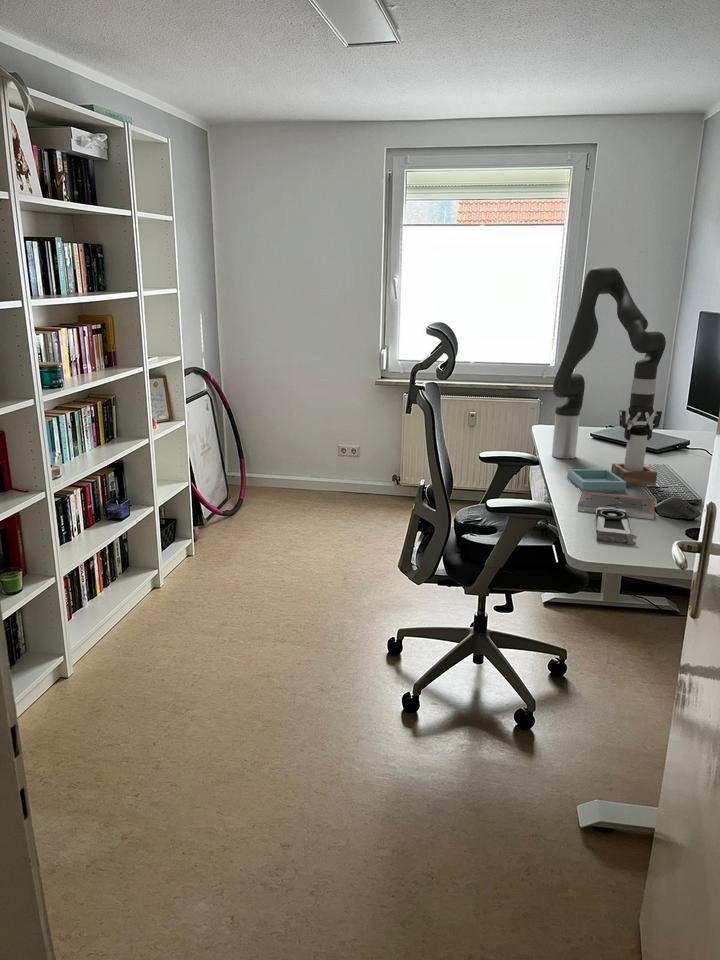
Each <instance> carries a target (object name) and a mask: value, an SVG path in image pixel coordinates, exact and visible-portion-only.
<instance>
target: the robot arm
mask: <svg viewBox="0 0 720 960" xmlns="http://www.w3.org/2000/svg"><path fill="white" fill-rule="evenodd" d="M581 293H582V294H581V297H580V302H579V307H578V310H577V313H576V317H575V320H574V322H573V326H572V329H571V333H570V335H569V339H568V342H567V345H566V349H565V352H564V356H563V358H562V361H561V363H560V365H559V367H558V370H557V372H556V375H555V377H554V380H553V383H552V391H553V394H554V396H556V397H557V398H566V400H565V401H564V402H563V403H560V404H559V405H556V408H555V416H554V429H553V440H552V449H551V456H552V457H553V458H558V459H563V460H567V459H570V458H571V459H575V458H576V457H577V446H578V438H579V437H578V436H579V424H580V413H581V409H582V407H583V403H584V395H585V388H586V383H585V378H584V376H583V375H582V374H580V373H577V372H576V373H574V370H575V368H576V367H577V365H578V364H579V363H580V362H581V361H582V360H583V359H584V358H585V357H586V356H587V355H588V354H589V353H590V351H592V349H593V347H594V345H595V342H596V339H597V336H598V333H599V323H598V318H597V315H596V305H597V302H598V298H599V295H610V296H611V297H612V298H613V299H614V300H615V303H616V314H617V318H618V320H619V322H620V323H621V325H622V327H623V328H624V329H625V330H626V332H627V335H628V338H629V341H630V345H631V347H632V349H633V350H634V351H635V352H637V353H639V354H645V355H644V357H643V358H642V359H640V360H637V361H636V363H635V364H634V371H633V380H632V382H631V389H630V398H629V407H628V409H620V410H619V426H620V427H621V428H622V429H624V433H623V437H624V439H625V440H626V441H627V440H630V434H631V430H630V429H631V427H632V425H636V424H635V423H636V422H637V423H638V422H643V423H644V425H650V428H648V432H647V433H648V436H647V441H650V440H651V439H652V435H653V430H654V429H658V428H659V427H660V422H661V418H662V414H663V411H662V410H660V409H654V403H655V397H656V396H655V395H656V388H657V374H658V367H659V364H660V362H661V359H662V357H663V354H664V352H665V349H666V344H667V341H666V336H665V335H664V334H663V333H662V332H661V331H646V330H647V329H648V327H649V322H648V320H647V318H646V317H645V316H644V314H643V313H642V311H641V310H640V308H638V306H637V304H636V303H635V301H634V300H633V298H632V295H631V294H630V291H629V289H628V287H627V285H626V282H625V280H624V278H623V277H622V275H621V273H620V271H619V270H618V269H617V268H616V267H612V266H605V267H604V266H602V267H601V266H598V267H596V266H595V267H592V268H591V269H590V270H589V271H588V272H587V274H586V276H585V279H584V283H583V288H582V292H581ZM628 415H629V417H628V419H627V420H626V418H627V416H628ZM651 416H653V420H651V418H650V417H651ZM571 459H570V460H571Z"/></svg>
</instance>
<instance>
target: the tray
mask: <svg viewBox="0 0 720 960" xmlns="http://www.w3.org/2000/svg"><path fill="white" fill-rule="evenodd" d="M566 476H567V477H566V479H567V478H568V479H569V480H570V481H571V482H572V483H573V484H574V485H575V487H576V488H577V489H578V488H579V489H580V490H581V491H584V492H594V493H626V489H627V486H626V482H625V481H624V480H623V479H621V478H620V477H618V476H617V475H615V474H614V473H612V472H611V470H610V469H567V475H566ZM568 479H567V480H568ZM569 480H568V481H569ZM570 481H569V482H570ZM571 482H570V483H571ZM572 483H571V484H572ZM573 484H572V485H573ZM574 485H573V486H574ZM579 489H578V490H579ZM580 490H579V491H580ZM581 491H580V492H581Z"/></svg>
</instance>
